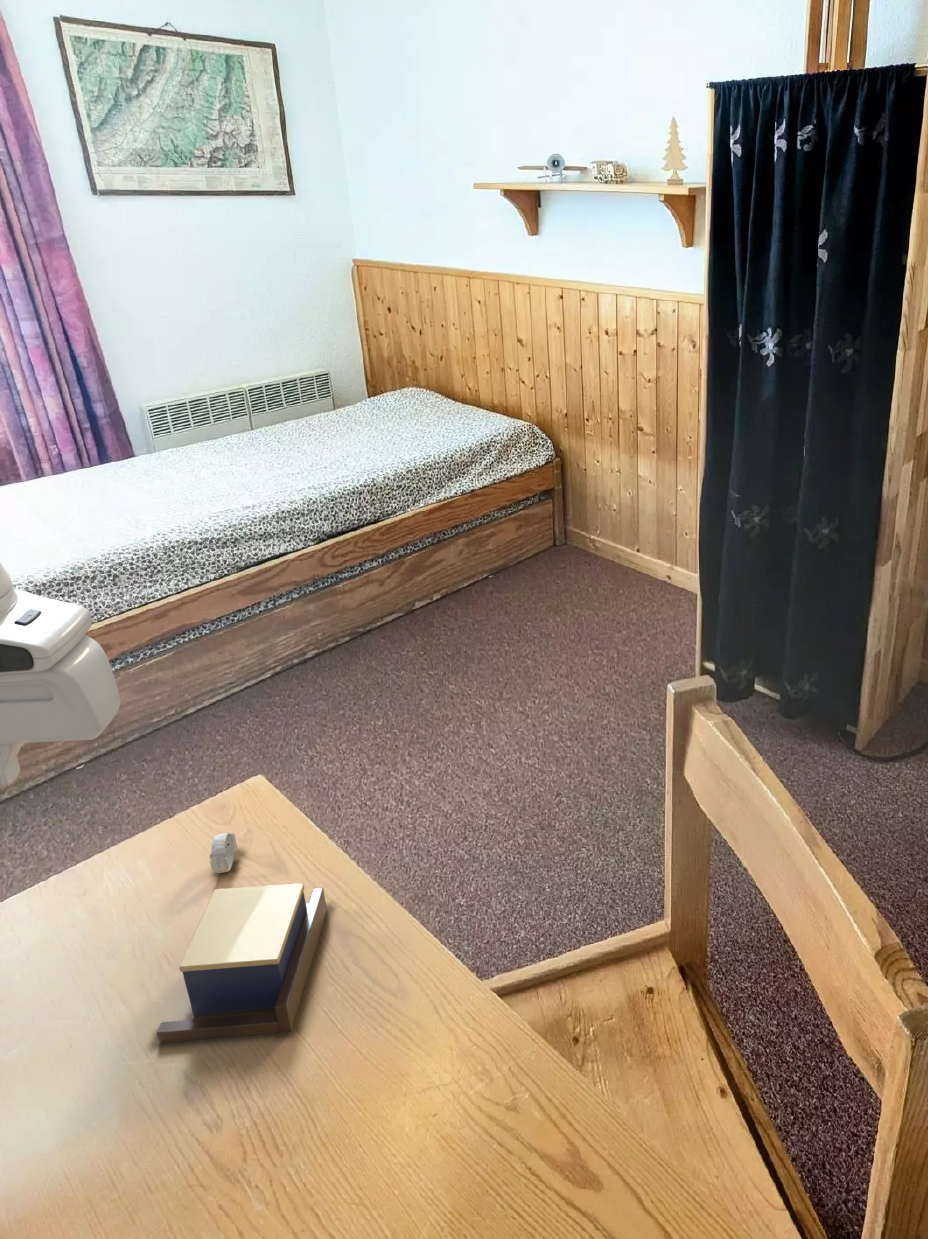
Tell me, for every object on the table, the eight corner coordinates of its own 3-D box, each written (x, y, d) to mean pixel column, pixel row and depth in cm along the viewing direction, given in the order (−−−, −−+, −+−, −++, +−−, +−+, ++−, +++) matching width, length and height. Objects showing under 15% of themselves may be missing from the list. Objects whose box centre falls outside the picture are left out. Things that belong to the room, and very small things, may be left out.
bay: (158, 1043, 70) (151, 1018, 69) (214, 918, 82) (208, 895, 81) (291, 1031, 72) (286, 1006, 70) (327, 909, 83) (323, 887, 82)
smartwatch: (232, 879, 87) (226, 849, 85) (210, 882, 86) (203, 852, 85) (239, 853, 90) (233, 824, 89) (218, 856, 90) (212, 827, 88)
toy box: (191, 1017, 73) (178, 966, 71) (225, 936, 80) (214, 888, 78) (287, 1009, 73) (277, 959, 71) (312, 929, 81) (303, 882, 79)
